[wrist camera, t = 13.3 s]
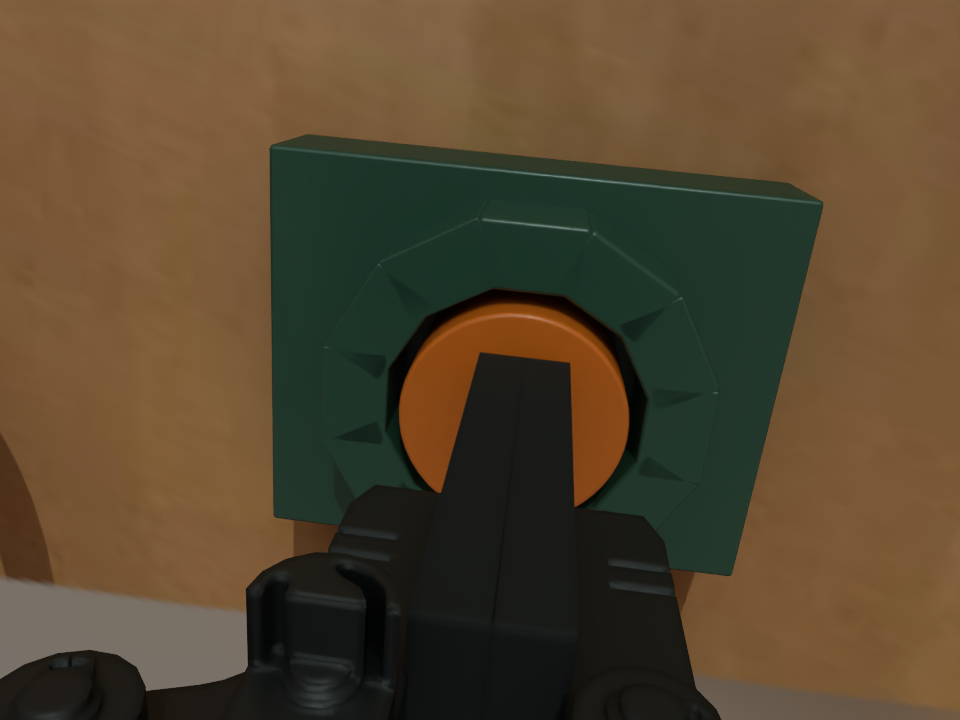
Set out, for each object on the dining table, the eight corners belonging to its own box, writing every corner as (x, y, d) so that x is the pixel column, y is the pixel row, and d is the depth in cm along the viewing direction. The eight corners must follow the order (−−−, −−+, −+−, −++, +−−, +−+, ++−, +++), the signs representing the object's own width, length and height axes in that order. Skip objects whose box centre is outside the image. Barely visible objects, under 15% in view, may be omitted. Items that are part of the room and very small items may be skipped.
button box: (302, 469, 19) (241, 568, 15) (304, 133, 16) (229, 155, 13) (713, 521, 19) (751, 636, 15) (791, 182, 16) (863, 221, 12)
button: (409, 462, 16) (392, 509, 14) (421, 273, 14) (403, 300, 13) (605, 487, 16) (610, 536, 14) (637, 297, 14) (648, 327, 13)
